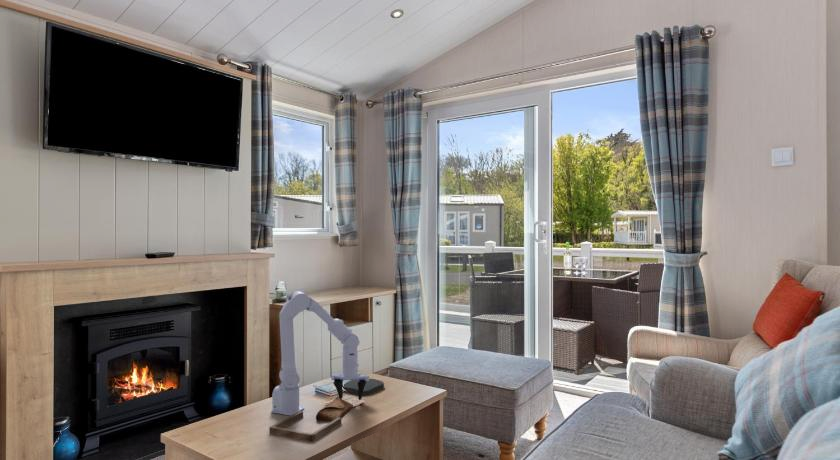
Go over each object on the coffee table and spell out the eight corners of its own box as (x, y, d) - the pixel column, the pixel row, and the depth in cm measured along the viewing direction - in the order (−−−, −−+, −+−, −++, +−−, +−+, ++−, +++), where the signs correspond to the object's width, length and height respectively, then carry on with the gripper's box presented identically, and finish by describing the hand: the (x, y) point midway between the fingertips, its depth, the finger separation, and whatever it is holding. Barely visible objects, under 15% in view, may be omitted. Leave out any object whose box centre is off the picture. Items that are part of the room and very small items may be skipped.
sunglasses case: (338, 422, 174) (328, 405, 175) (322, 431, 176) (312, 414, 177) (356, 405, 192) (347, 389, 193) (341, 413, 193) (333, 398, 194)
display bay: (269, 433, 166) (269, 427, 166) (300, 416, 181) (300, 411, 181) (313, 441, 159) (312, 435, 159) (341, 423, 174) (341, 417, 174)
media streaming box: (365, 397, 202) (365, 390, 202) (338, 391, 210) (338, 384, 210) (387, 388, 214) (387, 380, 214) (361, 382, 222) (361, 375, 222)
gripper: (328, 365, 192) (329, 401, 192) (365, 366, 190) (366, 402, 190) (334, 361, 199) (334, 395, 199) (370, 362, 197) (370, 396, 197)
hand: (350, 398), depth 195 cm, fingers open, 7 cm apart
